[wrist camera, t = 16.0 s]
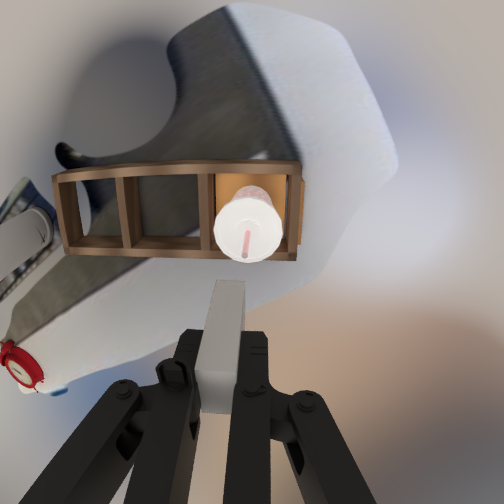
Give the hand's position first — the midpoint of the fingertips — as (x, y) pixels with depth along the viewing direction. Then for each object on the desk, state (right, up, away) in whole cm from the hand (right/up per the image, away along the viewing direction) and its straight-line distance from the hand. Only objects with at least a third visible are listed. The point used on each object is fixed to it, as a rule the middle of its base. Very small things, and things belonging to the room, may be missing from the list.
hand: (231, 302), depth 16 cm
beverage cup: (+1, +8, +19) cm, 20 cm away
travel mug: (-31, +7, +21) cm, 38 cm away
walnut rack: (-9, +9, +19) cm, 22 cm away
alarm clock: (-52, -22, +35) cm, 66 cm away
